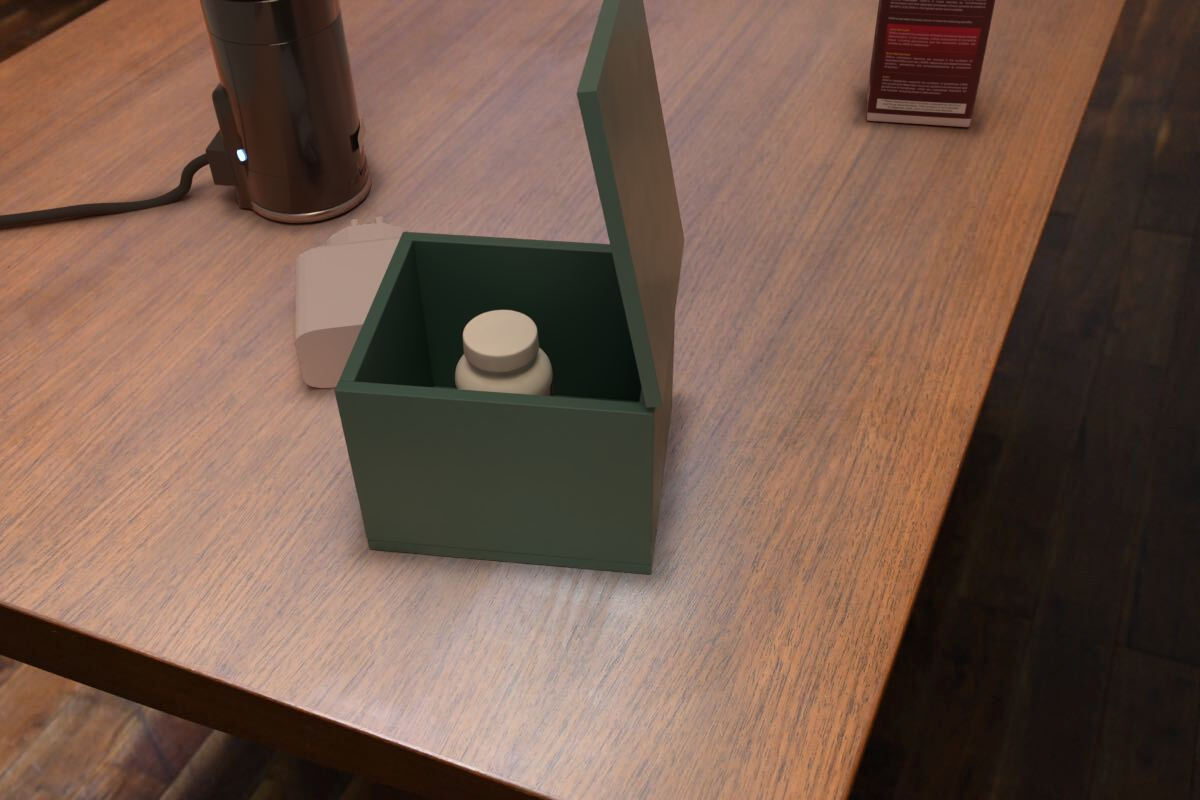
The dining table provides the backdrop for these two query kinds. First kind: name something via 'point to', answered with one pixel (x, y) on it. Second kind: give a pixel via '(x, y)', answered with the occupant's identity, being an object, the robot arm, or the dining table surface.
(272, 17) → the robot arm
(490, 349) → the pill bottle
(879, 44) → the supplement box
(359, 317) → the charger
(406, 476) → the chest
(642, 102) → the lid
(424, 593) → the dining table surface
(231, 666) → the dining table surface
